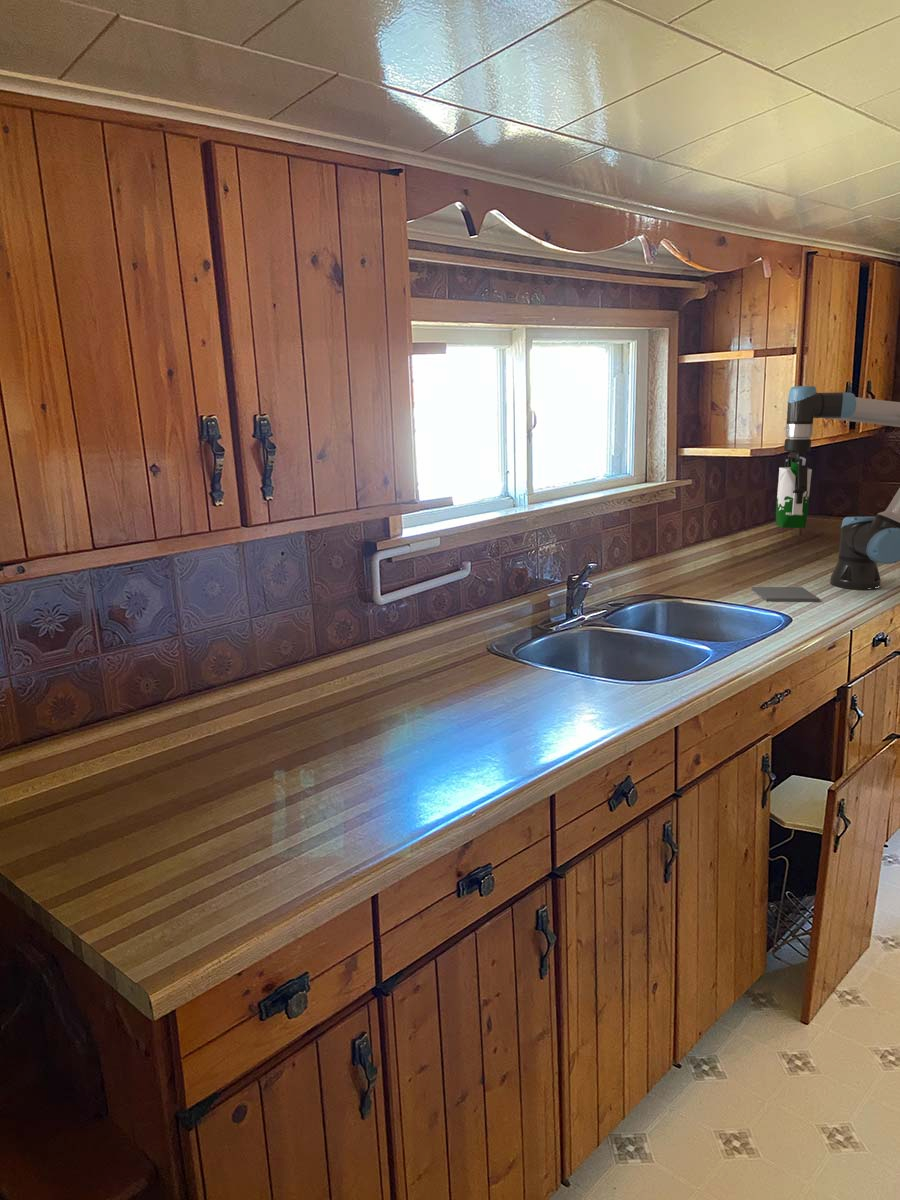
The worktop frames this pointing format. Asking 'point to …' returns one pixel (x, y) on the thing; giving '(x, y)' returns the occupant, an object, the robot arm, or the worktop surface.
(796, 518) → the soya milk
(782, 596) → the charcoal mat
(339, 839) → the worktop surface
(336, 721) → the worktop surface
